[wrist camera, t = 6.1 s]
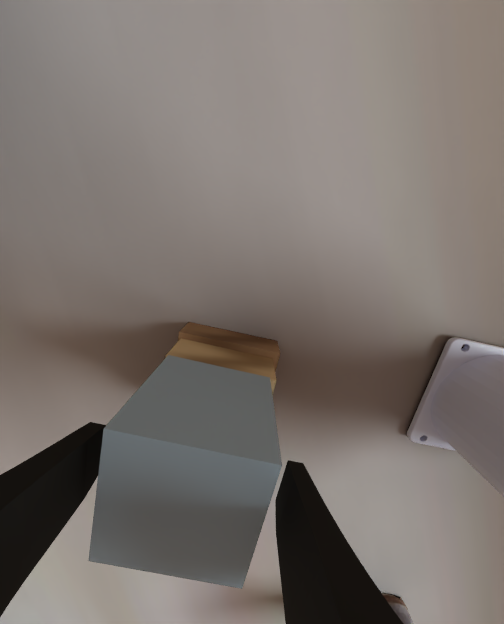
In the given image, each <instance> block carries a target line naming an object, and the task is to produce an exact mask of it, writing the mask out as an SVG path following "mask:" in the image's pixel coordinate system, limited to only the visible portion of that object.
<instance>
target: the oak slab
mask: <svg viewBox="0 0 504 624" xmlns="http://www.w3.org/2000/svg"><path fill="white" fill-rule="evenodd" d="M168 355H171V356H175V357H180V358H184V359H189V360H193V361H198V362H202V363H207V364H211V365H216V366H220V367H225V368H229V369H234V370H238V371H243V372H247V373H252V374H256V375H261V376H265V377H270V381H271V389H272V395H273V391H274V388H275V384H276V381H277V380H276V375H275V369H274V363H273V359H272V358H267V357H263V356H258V355H254V354H249V353H245V352H240V351H236V350H231V349H227V348H222V347H218V346H213V345H209V344H204V343H199V342H195V341H190V340H186V339H180V340H179V341H178V342H177V343H176V344H175V345H174V347H173V348H172V349H171V350H170V351H169V352H168V353H167V354H166V356H165V358H166V357H167V356H168Z"/></svg>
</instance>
